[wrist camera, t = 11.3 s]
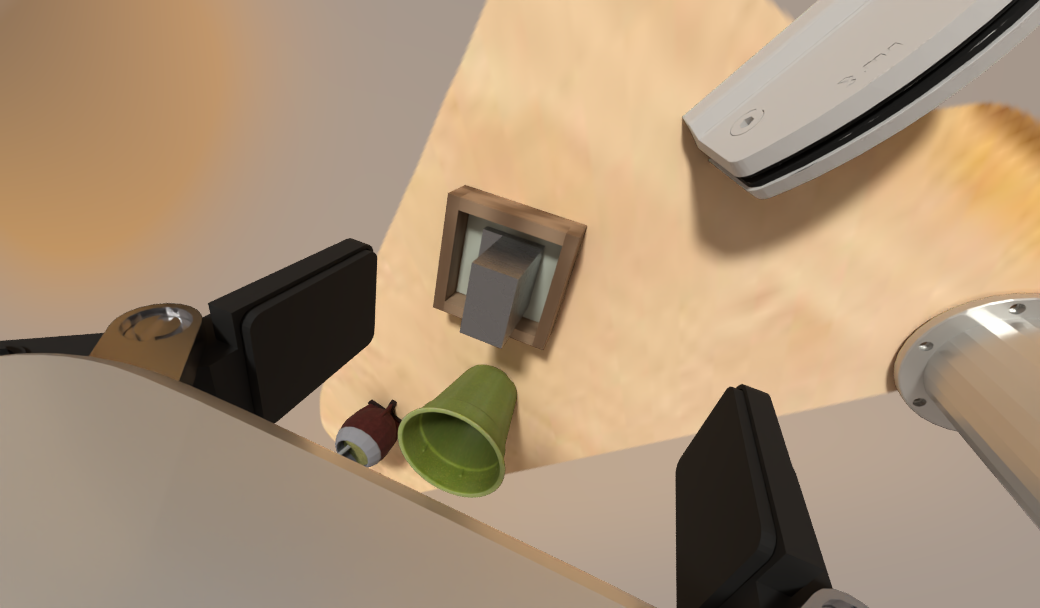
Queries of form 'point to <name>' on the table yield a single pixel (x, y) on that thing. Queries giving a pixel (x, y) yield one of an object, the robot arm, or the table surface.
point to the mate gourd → (368, 434)
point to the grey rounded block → (848, 83)
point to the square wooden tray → (483, 209)
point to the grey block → (500, 286)
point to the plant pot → (462, 433)
